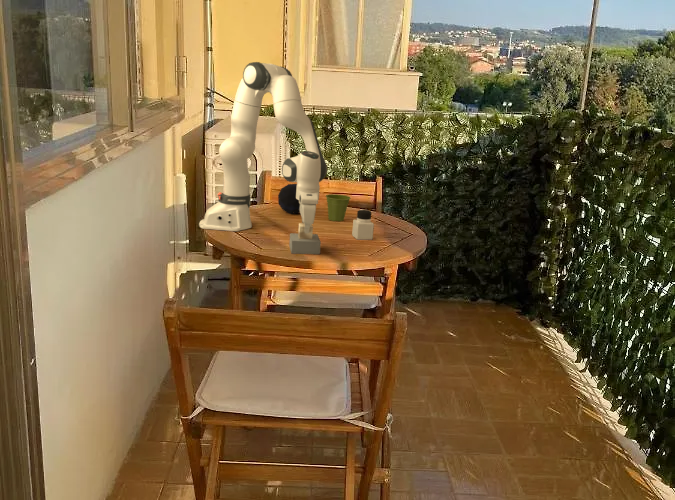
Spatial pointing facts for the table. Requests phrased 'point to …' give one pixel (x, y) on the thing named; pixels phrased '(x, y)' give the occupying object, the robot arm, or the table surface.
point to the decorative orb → (289, 199)
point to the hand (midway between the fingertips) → (305, 229)
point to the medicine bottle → (363, 226)
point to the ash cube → (302, 234)
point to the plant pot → (337, 206)
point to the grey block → (304, 244)
